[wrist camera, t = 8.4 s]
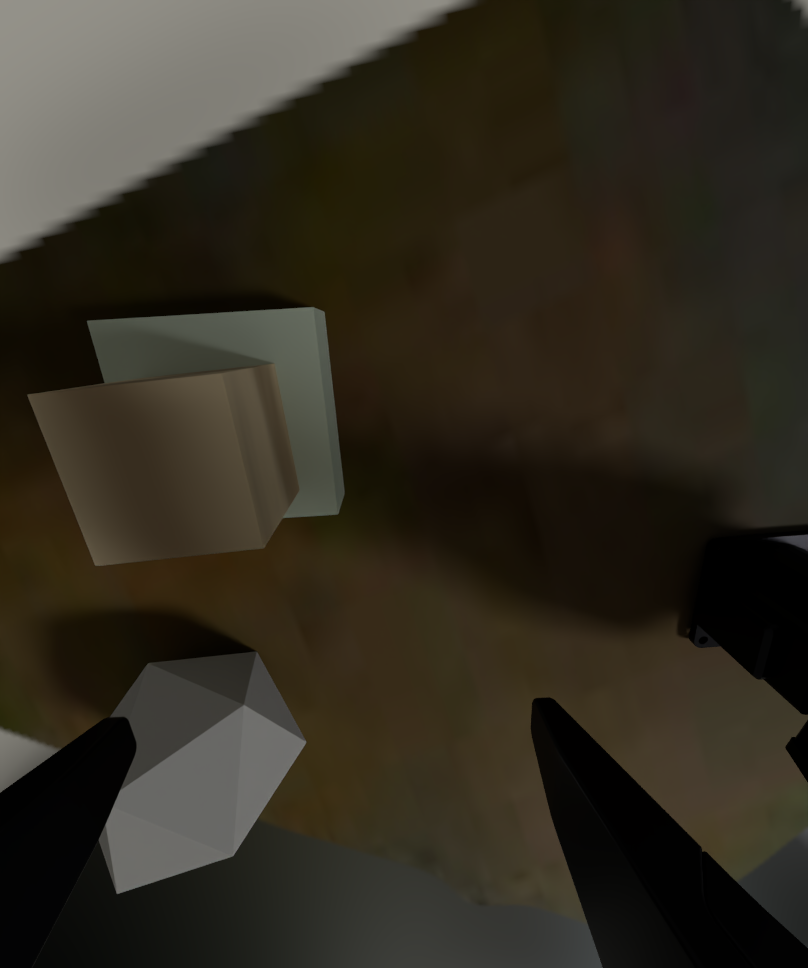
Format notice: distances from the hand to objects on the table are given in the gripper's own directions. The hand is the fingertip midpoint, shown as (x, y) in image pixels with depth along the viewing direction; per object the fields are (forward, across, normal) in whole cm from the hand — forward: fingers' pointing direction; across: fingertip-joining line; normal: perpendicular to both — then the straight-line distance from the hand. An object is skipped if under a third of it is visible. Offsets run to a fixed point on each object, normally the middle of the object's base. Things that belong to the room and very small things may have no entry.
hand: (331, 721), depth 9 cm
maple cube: (+9, +5, -5) cm, 11 cm away
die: (+12, +9, +10) cm, 18 cm away
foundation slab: (+12, +5, -5) cm, 14 cm away
